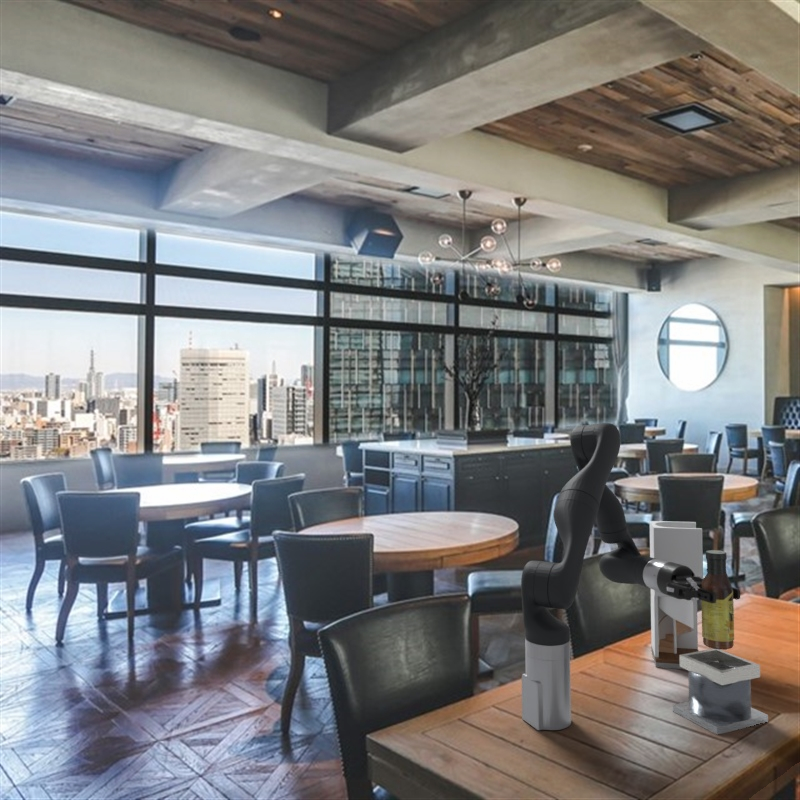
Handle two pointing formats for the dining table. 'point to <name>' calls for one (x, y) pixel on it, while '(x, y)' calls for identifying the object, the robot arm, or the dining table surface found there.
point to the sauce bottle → (718, 604)
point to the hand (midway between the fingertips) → (726, 596)
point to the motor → (719, 691)
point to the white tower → (669, 614)
